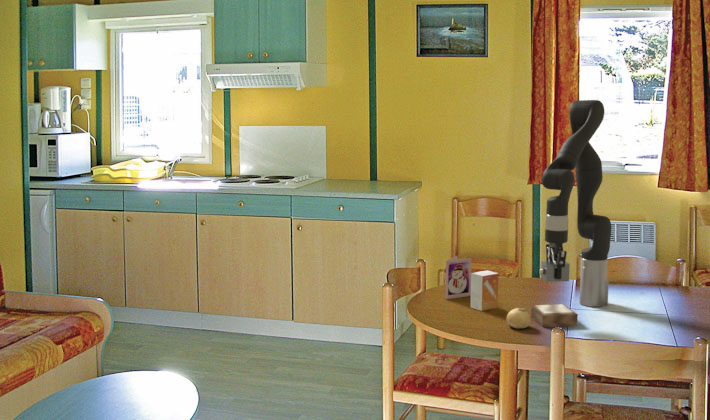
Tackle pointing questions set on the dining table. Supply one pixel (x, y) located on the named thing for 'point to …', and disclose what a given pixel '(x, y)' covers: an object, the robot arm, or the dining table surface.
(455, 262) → the greeting card
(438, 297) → the dining table surface
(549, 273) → the block
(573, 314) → the stand
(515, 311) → the onion
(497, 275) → the small box
